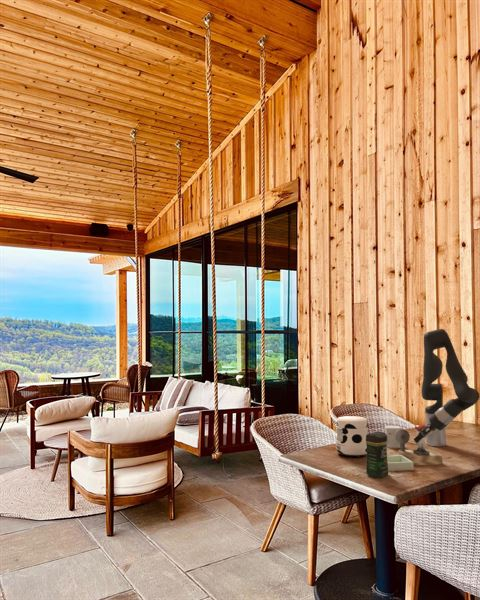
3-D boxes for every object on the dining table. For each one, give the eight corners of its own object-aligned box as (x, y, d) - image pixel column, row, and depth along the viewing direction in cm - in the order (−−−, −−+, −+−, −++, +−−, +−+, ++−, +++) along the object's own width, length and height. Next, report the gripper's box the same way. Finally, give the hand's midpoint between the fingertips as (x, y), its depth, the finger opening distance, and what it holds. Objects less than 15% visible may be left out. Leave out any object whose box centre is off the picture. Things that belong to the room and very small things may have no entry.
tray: (401, 462, 219) (401, 455, 219) (413, 469, 207) (413, 462, 207) (377, 463, 218) (377, 456, 218) (388, 470, 206) (387, 463, 206)
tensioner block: (429, 457, 227) (428, 427, 228) (442, 464, 215) (441, 432, 216) (394, 458, 226) (393, 428, 226) (406, 465, 214) (404, 434, 215)
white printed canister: (375, 452, 237) (374, 417, 238) (364, 460, 222) (363, 423, 223) (343, 448, 246) (342, 414, 247) (330, 456, 232) (329, 420, 233)
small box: (399, 445, 251) (399, 425, 252) (402, 447, 246) (401, 428, 246) (385, 445, 252) (384, 425, 253) (387, 447, 246) (386, 427, 247)
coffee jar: (379, 479, 194) (378, 435, 195) (363, 475, 200) (362, 432, 201) (391, 474, 201) (390, 431, 202) (375, 470, 207) (374, 429, 208)
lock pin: (423, 452, 221) (422, 424, 222) (428, 455, 216) (427, 426, 217) (414, 452, 220) (413, 424, 221) (418, 455, 216) (417, 426, 217)
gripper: (440, 409, 220) (417, 430, 227) (431, 413, 209) (407, 435, 216) (452, 421, 217) (428, 443, 223) (443, 427, 206) (419, 449, 212)
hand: (418, 439), depth 220 cm, fingers open, 8 cm apart
